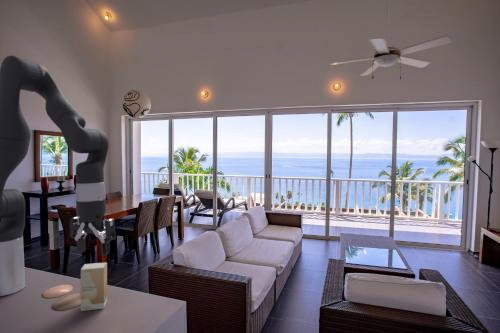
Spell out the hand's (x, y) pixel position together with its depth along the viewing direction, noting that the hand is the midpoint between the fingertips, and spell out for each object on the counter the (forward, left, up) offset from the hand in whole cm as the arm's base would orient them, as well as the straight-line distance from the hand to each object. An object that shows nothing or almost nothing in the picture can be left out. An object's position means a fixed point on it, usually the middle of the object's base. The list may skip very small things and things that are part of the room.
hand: (93, 253), depth 84 cm
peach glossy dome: (-19, +4, -16) cm, 25 cm away
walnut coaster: (-9, 0, -16) cm, 18 cm away
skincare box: (0, 0, -16) cm, 16 cm away
